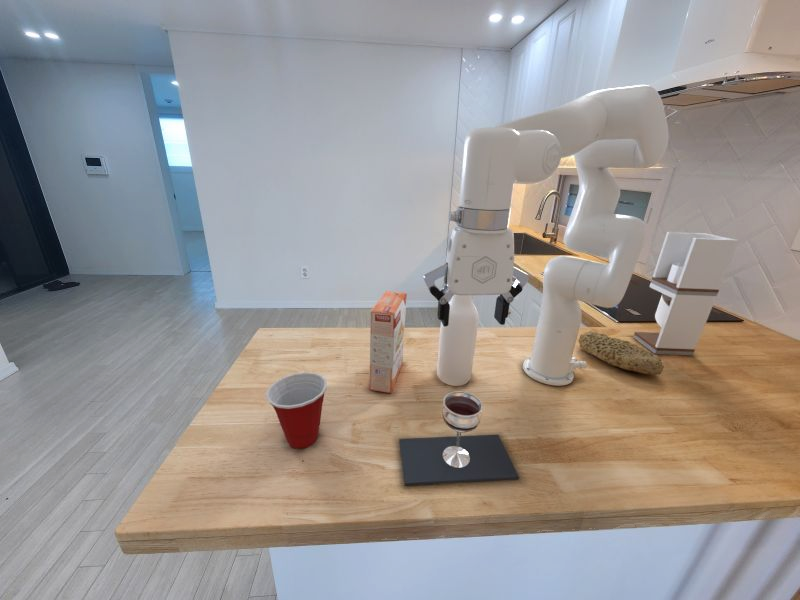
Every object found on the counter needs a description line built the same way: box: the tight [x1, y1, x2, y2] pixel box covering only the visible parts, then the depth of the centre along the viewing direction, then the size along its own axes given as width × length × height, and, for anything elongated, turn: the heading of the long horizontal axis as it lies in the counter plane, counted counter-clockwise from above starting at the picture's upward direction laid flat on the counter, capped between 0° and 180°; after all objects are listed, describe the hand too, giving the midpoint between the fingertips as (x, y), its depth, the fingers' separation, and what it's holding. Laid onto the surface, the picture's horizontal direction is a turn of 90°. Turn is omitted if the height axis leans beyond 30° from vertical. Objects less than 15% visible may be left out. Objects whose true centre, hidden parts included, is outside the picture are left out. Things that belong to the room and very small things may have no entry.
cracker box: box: [368, 290, 407, 394], centre depth 82 cm, size 14×6×21 cm, turn 168°
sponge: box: [578, 330, 665, 376], centre depth 95 cm, size 13×8×20 cm
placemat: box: [398, 434, 520, 487], centre depth 62 cm, size 20×10×1 cm, turn 95°
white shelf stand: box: [632, 231, 740, 356], centre depth 100 cm, size 11×11×35 cm
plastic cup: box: [265, 371, 328, 450], centre depth 63 cm, size 11×11×12 cm
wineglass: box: [441, 390, 483, 468], centre depth 60 cm, size 7×7×12 cm
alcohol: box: [436, 294, 480, 387], centre depth 81 cm, size 9×9×30 cm
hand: (471, 322), depth 57 cm, fingers open, 9 cm apart
